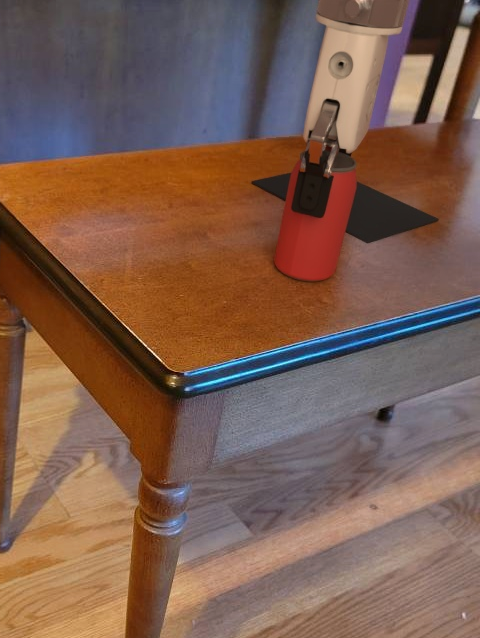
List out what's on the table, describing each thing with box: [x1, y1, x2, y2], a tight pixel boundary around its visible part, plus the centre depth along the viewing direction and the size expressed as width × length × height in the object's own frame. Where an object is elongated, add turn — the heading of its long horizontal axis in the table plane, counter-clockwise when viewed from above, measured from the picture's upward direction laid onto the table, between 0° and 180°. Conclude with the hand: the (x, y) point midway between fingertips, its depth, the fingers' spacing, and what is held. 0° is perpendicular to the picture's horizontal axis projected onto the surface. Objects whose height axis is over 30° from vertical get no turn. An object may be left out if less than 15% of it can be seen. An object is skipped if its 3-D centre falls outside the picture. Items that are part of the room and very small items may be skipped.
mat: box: [250, 171, 440, 244], centre depth 96 cm, size 20×14×1 cm
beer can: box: [273, 149, 358, 283], centre depth 75 cm, size 7×7×12 cm
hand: (318, 197), depth 74 cm, fingers open, 9 cm apart
